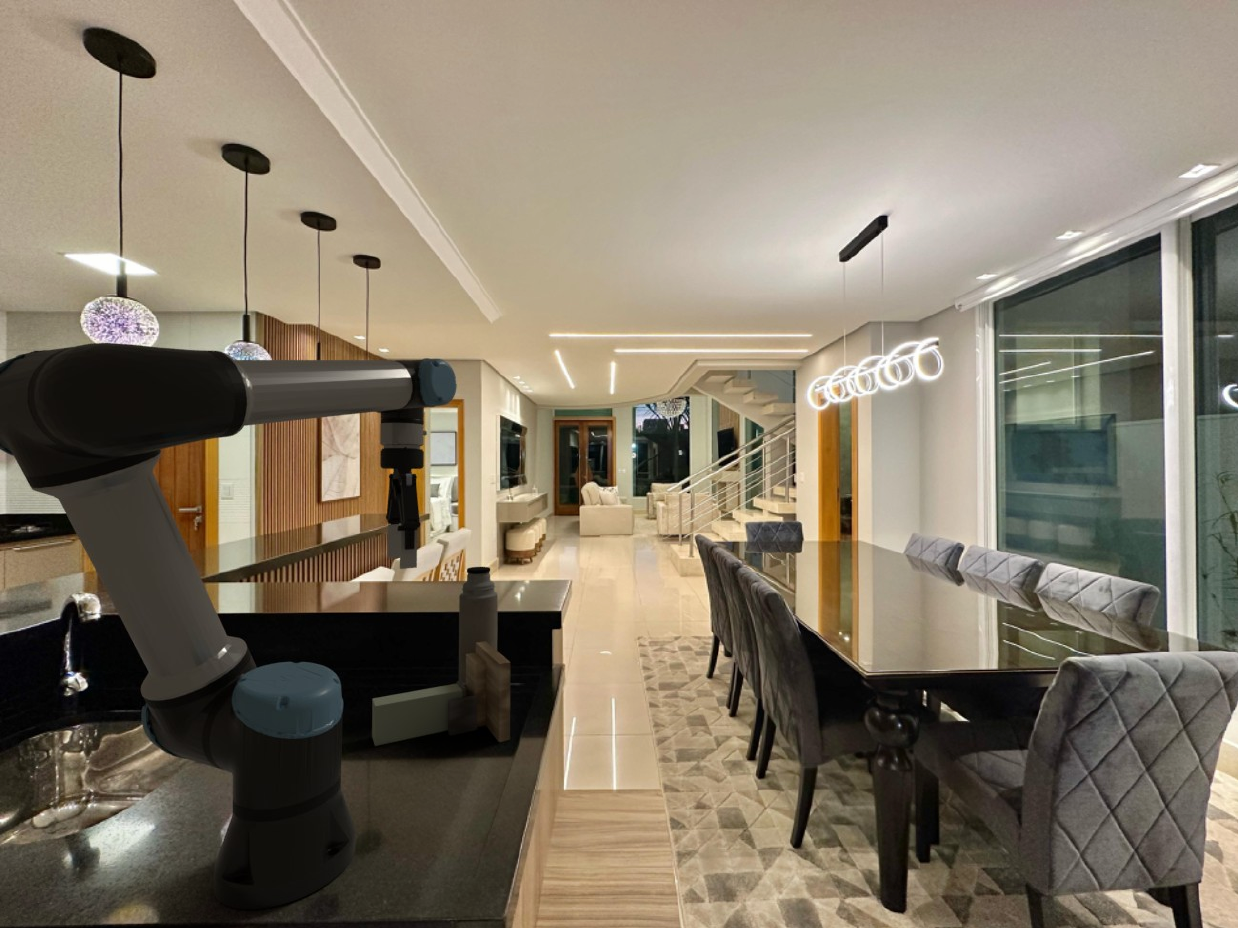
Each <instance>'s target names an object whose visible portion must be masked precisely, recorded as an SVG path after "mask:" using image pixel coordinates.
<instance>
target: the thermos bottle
mask: <svg viewBox="0 0 1238 928" xmlns="http://www.w3.org/2000/svg"><path fill="white" fill-rule="evenodd" d="M466 573H467V574H466V581H465V582H464V583H463V584H462V588H461V591H462V593H460V594H459V596H458V597H459V598H458V599H459V605H458V606H459V607H458V610H459V611H458V614H459V615H458V621H459V623H458V681H461V683H465V684H466V654H470V653H476V643H477V642H484V641H486V642H487V643H488V644H489V645H491V646H492V647H493V648H494V649H495V650H497V651H498V608H499V607H498V600H499V599H498V598H499V597H498V592H496V591H495V588H496V586H495V583H494V581H493V580H491V574H490V573H491V567H489V566H473V567H468V568H466Z"/></svg>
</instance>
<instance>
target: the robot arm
mask: <svg viewBox="0 0 1238 928" xmlns="http://www.w3.org/2000/svg"><path fill="white" fill-rule="evenodd" d="M457 386H458V385H457V380H456V373H455V371H454V369H453V367H452V366H451V365H450V363H448V362H447V361H446V360H444V359H441V358H427V357H425V358H422V359H409V360H408V359H397V360H393V359H355V360H354V359H234V358H232V357H231V356H230V355H229V354H227V353H226V352H224V351H220V350H200V349H199V350H198V349H196V350H195V349H183V348H170V347H158V346H149V345H141V344H139V345H138V344H129V343H128V344H127V343H117V342H116V343H113V342H96V343H91V342H90V343H87V344H86V343H85V344H82V345H75V346H70V347H62V348H53V349H43V350H33V351H31V352H26V353H22V354H19V355H16V356H15V357H14V358H13V357H12V358H10V359H6V360H4V361H2V362H1V363H0V451H2V452H3V453H5V454H8V455H10V456H13V457H14V459H15V460H16V463H17V465H18V466H19V468H20V470H21V472H22V473H23V475H24V477H25V479H26V481H27V483H28V485H29V486H30V488H31V490H32V491H35V492H36V493H37V492H38V493H41V494H45V495H49V496H51V497H54V498H55V499H57V500H58V501H59V503H60V505H61V507H62V508H63V510H64V513H65V515H66V516H67V518H68V520H69V521H70V523H71V527H72V528H73V530H74V532H75V533H76V536H77V537H78V539H79V541H80V543H81V545H82V547H83V549H84V551H85V552H86V554H87V557H88V558H89V560H90V562H91V564H92V565H93V568H94V570H95V572H96V573H97V576H98V577H99V579H100V581H101V583H102V585H103V587H104V589H105V591H106V593H107V595H108V596H109V598H110V600H111V602H112V604H113V606H114V608H115V610H116V612H117V614H118V617H120V619H121V622H122V624H123V625H124V628H125V629H126V631H127V633H128V635H129V637H130V639H131V641H132V642H133V644H134V646H135V649H136V650H137V652H138V654H139V656H140V658H141V660H142V662H143V664H144V666H145V667H146V669H147V671H148V673H147V675H146V677H145V678H144V680H143V682H142V684H141V686H140V693H141V696H142V697H143V699H144V701H145V705H143V706H142V708H141V716H140V717H141V725H142V728H143V731H144V733H145V735H146V737H147V738H148V740H149V741H150V742H151V743H152V744H153V745H155V747H157V748H159V750H161V751H162V752H164V753H166V754H167V755H170V756H172V757H176V758H178V759H183V760H188V761H192V762H196V763H199V764H202V765H206V766H209V767H212V768H216V769H219V770H221V771H226V772H228V773H230V774H232V813H231V818H230V821H229V823H228V827H227V829H226V832H225V834H224V838H223V840H222V843H221V846H220V847H219V852H218V854H217V857H216V860H215V862H214V866H213V867H214V868H213V881H212V882H213V883H212V885H213V888H212V889H213V894H214V897H216V899H217V900H218V902H220V903H222V905H225V906H227V907H230V908H233V909H237V910H259V909H260V910H261V909H262V910H263V909H268V908H273V907H276V906H277V907H278V906H282V905H285V904H288V903H292V902H294V901H297V900H299V899H302V898H304V897H306V896H307V897H308V895H311V894H313V893H315V892H316V891H318V890H320V889H322V888H324V887H325V886H326V885H328V884H330V882H332V881H334V880H335V879H336V878H337V877H338V876H340V874H341V873H342V872H344V871H345V870H346V868H347V867H348V866H349V865H350V863H351V861H352V859H354V855H355V852H356V827H355V824H354V821H353V818H352V815H351V813H350V810H349V808H348V805H347V802H346V799H345V797H344V794H343V791H342V780H341V779H342V756H343V755H342V751H343V750H342V749H343V747H342V745H343V712H344V699H343V697H342V684H341V683H342V682H341V680H340V677H339V676H338V675H337V673H336V672H334V670H332V669H331V668H329V667H327V666H325V665H322V664H320V663H319V664H318V663H314V662H309V661H308V662H307V661H300V662H293V661H283V662H275V663H270V664H265V665H262V666H259V667H257V665H256V663H255V661H254V658H253V656H252V654H251V652H250V649H249V647H248V645H247V643H246V641H245V640H243V639H242V638H240V637H236V636H229V635H227V633H226V629H224V626H223V623H222V622H221V619H220V617H219V615H218V612H217V611H216V608H215V606H214V604H213V601H212V600H211V597H210V595H209V593H208V591H207V588H206V586H205V584H204V582H203V580H202V577H201V575H200V573H199V570H198V569H197V566H196V565H195V562H194V560H193V557H192V555H191V554H190V551H189V549H188V546H187V544H186V542H185V540H184V537H183V536H182V534H181V531H180V529H179V527H178V524H177V522H176V520H175V518H174V516H173V514H172V511H171V509H170V507H169V504H168V503H167V500H166V498H165V495H164V494H163V491H162V489H161V487H160V485H159V482H158V480H157V478H156V475H155V474H154V469H155V467H156V466H157V464H158V462H159V461H160V458H161V457H162V451H161V450H163V449H168V448H172V447H177V446H181V445H186V444H191V443H195V442H201V441H205V440H206V441H207V440H211V439H219V438H226V437H233V436H235V435H237V434H239V433H240V432H241V431H242V430H243V428H244V427H245V426H255V425H263V424H274V423H282V422H283V423H285V422H290V421H291V422H292V421H301V420H311V419H321V418H329V417H330V418H331V417H338V416H347V415H356V414H366V413H367V414H368V413H377V414H380V425H379V428H380V429H379V430H380V433H379V434H380V437H379V439H380V442H379V444H380V445H381V446H383V448H381V450H380V452H379V453H380V456H379V457H380V460H379V461H380V463H379V465H380V468H381V469H385V470H388V469H389V470H393V472H392V473H389V475H388V480H389V481H388V495H387V506H386V515H385V518H386V520H387V559H389V560H390V559H399V569H400V570H403V569H404V570H405V569H416V568H418V567H417V566H418V529H419V528H420V526H421V521H420V511H419V500H418V489H417V479H418V475H417V473H413V472H412V470H422V469H424V466H425V465H424V462H425V459H424V457H425V456H424V455H425V452H424V450H423V449H422V448H421V447H423V446H424V443H425V442H424V439H425V438H424V436H427V435H428V432H427V430H424V427H425V426H424V424H425V419H424V417H425V416H424V415H425V408H435V407H440V406H446V405H448V404H449V403H451V402H452V400H453V399H454V398H455V395H456V392H457V388H458V387H457Z"/></svg>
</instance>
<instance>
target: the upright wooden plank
mask: <svg viewBox="0 0 1238 928" xmlns="http://www.w3.org/2000/svg"><path fill="white" fill-rule="evenodd" d="M462 684H463V685H464V686H465V687H466V697H462V698H457V699H452V700H448V730H447V734H448V735H449V736H450V737H451V736H455V735H460V734H465V733H469V732H473V731H477V730H478V728H480V727H481V728H482V727H485V726H486V727H487V729H488V730H489V732H491V734H492V735H493V736H494V738H495V739H496V741H498V743H502V742H506V741H510V740H511V661H510V660H508V659H507V658H506V657H505V656H504V655H502V654H501V653H500V652H499V651H498V649H497V650H495V649H494V648H493V647H492V646H491V645H489V644H488V643H487V642H486V641H484V642H477V643H476V653H470V654H466V684H465V683H462Z"/></svg>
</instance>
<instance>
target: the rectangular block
mask: <svg viewBox="0 0 1238 928" xmlns="http://www.w3.org/2000/svg"><path fill="white" fill-rule="evenodd" d="M462 697H466V687H465V686H464V685H463V684H462V683H461V681H459V680H456V683H453V684H447V685H443V686H442V685H441V686H436V687H435V686H434V687H429V688H423V689H419V690H418V689H417V690H413V691H408V692H407V691H406V692H402V693H397V694H396V693H395V694H390V695H386V696H380V697H374V698H372V700H371V701H372V703H371V705H372V710H371V712H372V713H371V715H372V718H371V719H372V720H371V721H372V723H371V725H372V727H371V738H372V740H373V741H372V742H373V743H374V746H375V747H377V746H380V745H386V744H391V743H395V742H396V743H397V742H399V741H404V740H405V741H406V740H410V739H413V738H418V737H423V736H427V735H432V734H437V733H441V732H448V700H452V699H457V698H462Z"/></svg>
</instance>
